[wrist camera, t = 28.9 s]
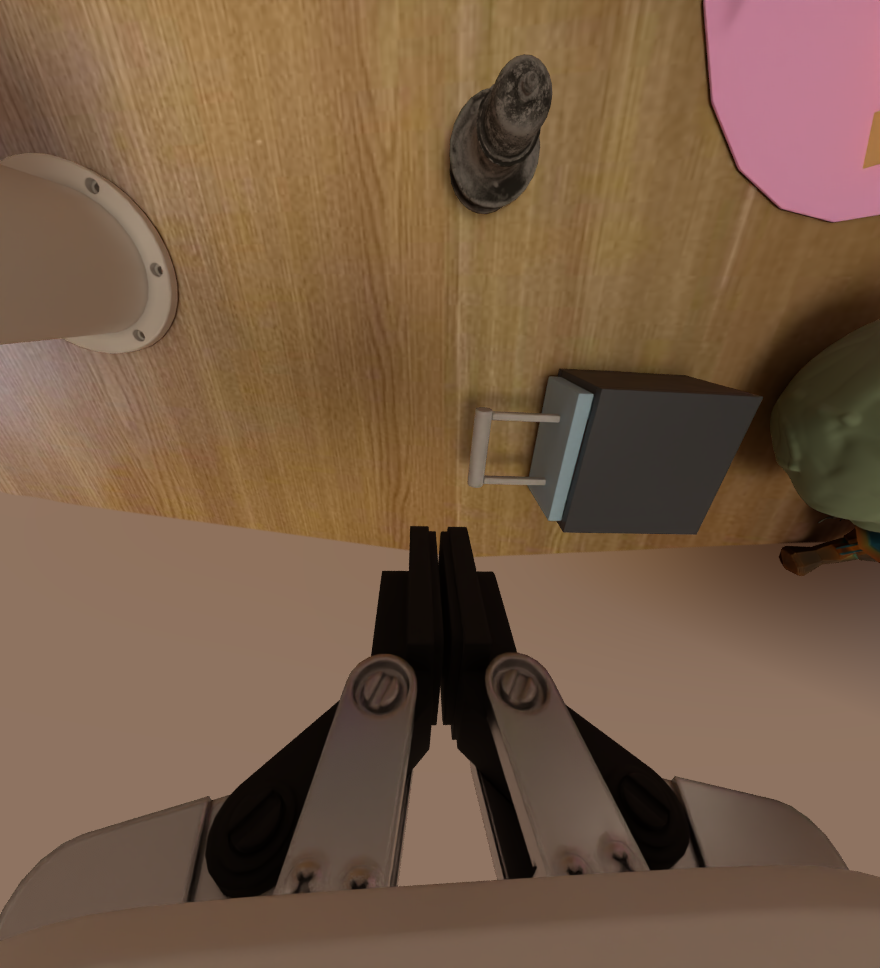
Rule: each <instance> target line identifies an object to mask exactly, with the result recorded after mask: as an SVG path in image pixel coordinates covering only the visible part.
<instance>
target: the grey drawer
mask: <svg viewBox="0 0 880 968" xmlns="http://www.w3.org/2000/svg"><path fill="white" fill-rule="evenodd" d="M594 398H595V397H594V394H592V393H591V392H589V391H587V390H585V389H583V388H581V387H579V386H577V385H575V384H573V383H572V382H570V381H568V380H566V379H564V378H562V377H553V376H549V379H548V384H547V389H546V394H545V399H544V404H543V409H542V413H519V412H496V411H492V409H490V408H485V407H479V408H476V410H475V419H474V429H473V438H472V447H471V456H470V465H469V475H468V485H469V486H471V487H476V488H478V487H481V486H482V485H483V483H484V484H512V485H527V486H528V488H529V489H530V491H531V493H532V494H533V496H534V498H535V499H536V501H537V503H538V504H539V506H540V508H541V509H542V511H543V513H544V514H545V516H546V518H547V519H548V521H561V519H562V515H563V511H564V507H565V503H566V501H567V500H568V496H569V493H570V489H571V485H572V481H573V480H572V477H573V473H574V469H575V465H576V461H577V458H578V454H579V450H580V446H581V442H582V439H583V435H584V431H585V427H586V423H587V420H589V417H590V413H591V409H592V406H593V402H594ZM491 419H492V420H507V421H531V422H540V424H539V429H538V434H537V439H536V444H535V449H534V454H533V459H532V464H531V469H530V474H529V477H516V476H484V472H485V464H486V457H487V449H488V441H489V434H490V426H491Z"/></svg>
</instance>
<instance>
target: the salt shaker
mask: <svg viewBox="0 0 880 968" xmlns="http://www.w3.org/2000/svg"><path fill="white" fill-rule="evenodd" d="M551 99H552V83H551V79H550V75H549V73H548V71H547V69H546V67H545V65H544V64H543V63H542V62H541V61H540V60H539V59H537V58H536V57H534V56H532V55H520V56H517V57H515V58H513V59H512V60H510V61H509V62H508V63H507V64H506V65H505V67H504V68H503V69H502V70H501V72H500V74H499V76H498V78H497V80H496V82H495V84H494V85H492V86H491V87H490V88H489V89H485V90H482V91H480V92H479V93H477V94H476V95H474V96H473V97H471V98H470V100H469V101H468V102H467V103H466V104H465V106H464V107H463V108H462V109H461V111H460V113H459V115H458V117H457V119H456V121H455V123H454V127H453V131H452V135H451V139H450V177H451V184H452V187H453V189H454V192H455V194H456V196H457V198H458V199H459V200H460V202H461V203H462V204H463V205H464V206H465V207H466V208H468V209H469V210H471V211H473V212H476V213H481V214H488V213H491V212H495V211H497V210H498V209H500V208H502V207H503V206H506V205H507V204H509V203H511V202H512V201H514V200H516V199H517V198H518V197H519V196H520V195H521V194H522V193H523V192H524V190H525V189H526V188H527V186H528V184H529V183H530V181H531V179H532V178H533V175H534V172H535V169H536V167H537V164H538V158H539V150H540V140H539V135H540V129H541V126H542V125H543V123H544V121H545V119H546V118H547V115H548V112H549V109H550V105H551Z"/></svg>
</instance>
